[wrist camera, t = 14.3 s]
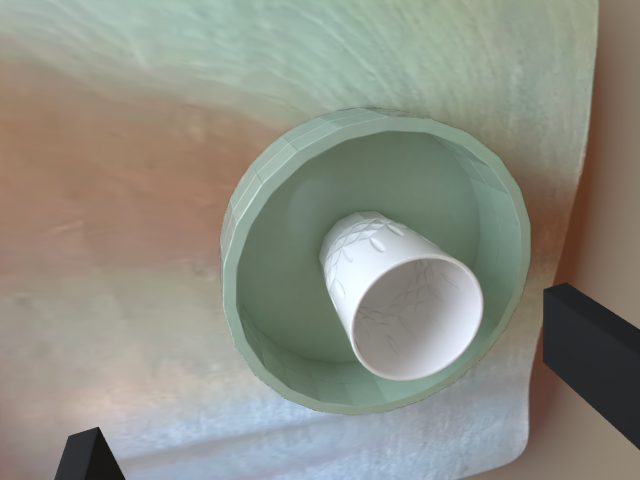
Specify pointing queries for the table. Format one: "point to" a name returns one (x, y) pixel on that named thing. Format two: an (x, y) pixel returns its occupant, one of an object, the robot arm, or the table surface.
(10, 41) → the table surface
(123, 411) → the table surface
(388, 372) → the white cup
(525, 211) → the bowl
